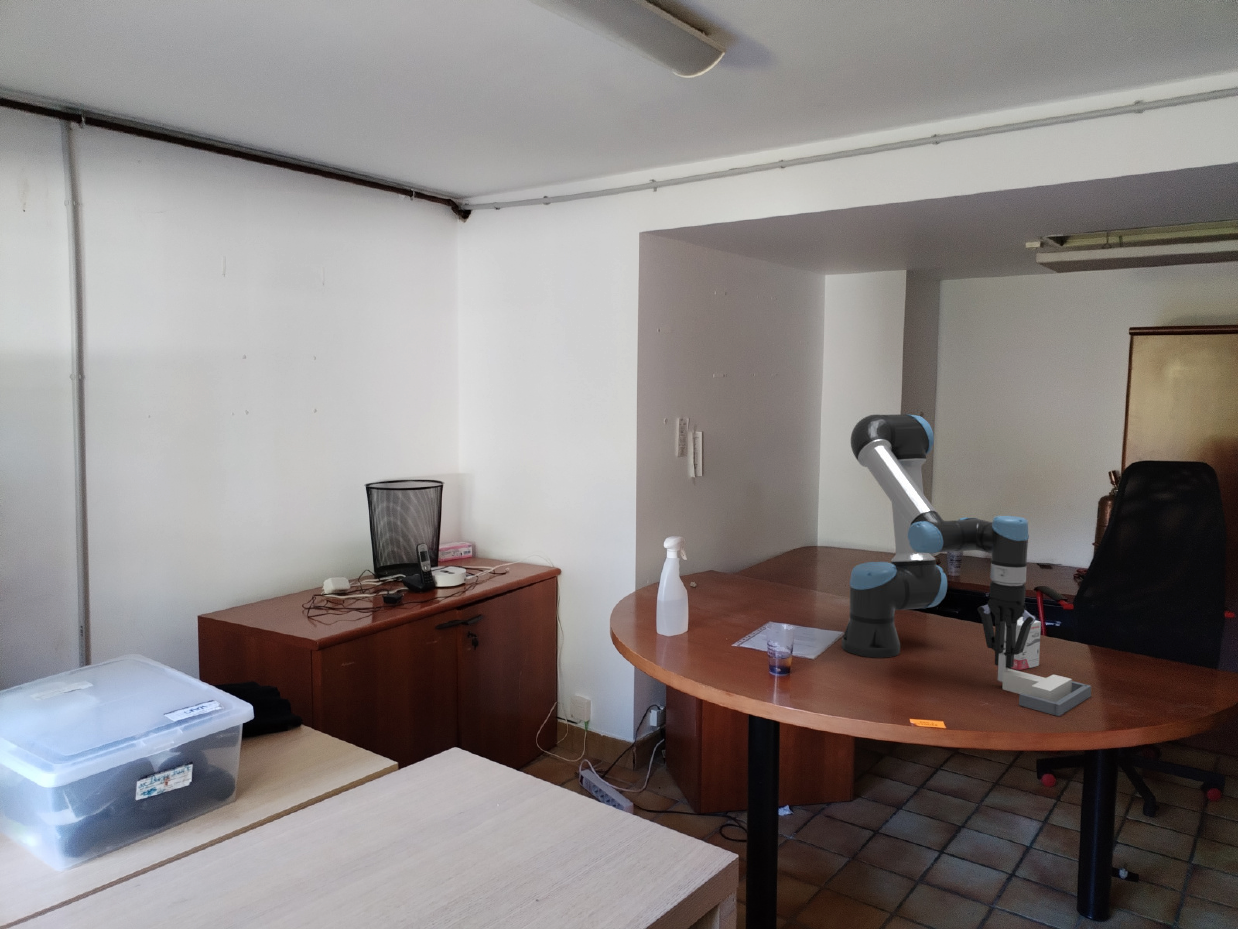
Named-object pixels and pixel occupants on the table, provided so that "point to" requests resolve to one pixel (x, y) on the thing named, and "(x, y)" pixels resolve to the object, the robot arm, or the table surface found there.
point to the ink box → (1027, 646)
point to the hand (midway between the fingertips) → (1003, 680)
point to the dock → (1061, 706)
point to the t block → (1037, 685)
